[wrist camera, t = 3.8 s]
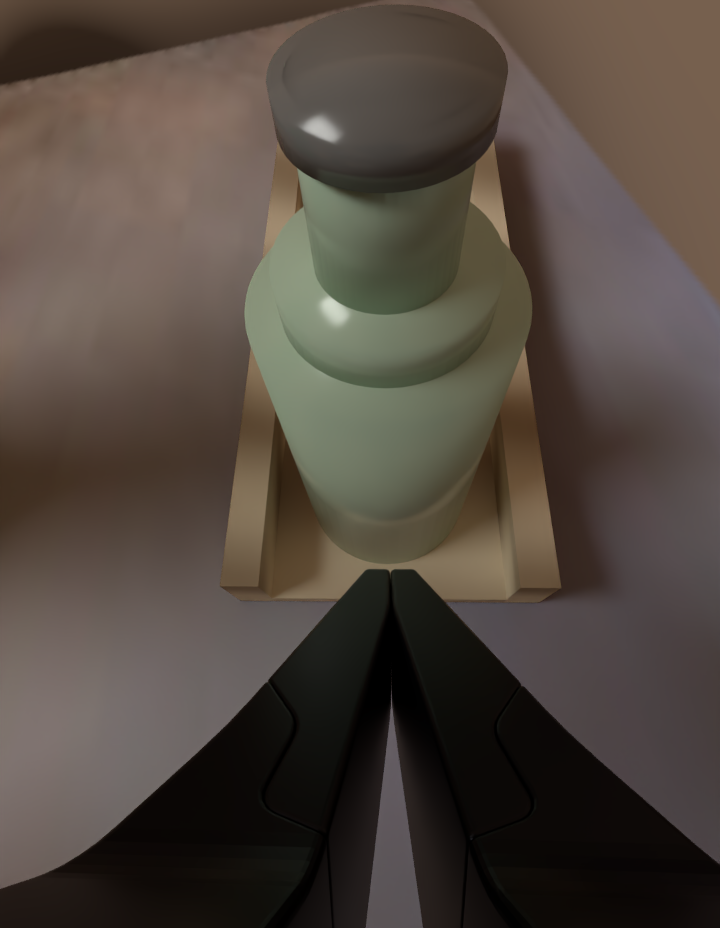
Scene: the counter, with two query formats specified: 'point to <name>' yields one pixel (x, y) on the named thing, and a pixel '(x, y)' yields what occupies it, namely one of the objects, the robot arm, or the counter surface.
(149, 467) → the counter surface
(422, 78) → the glass bottle
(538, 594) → the rest
